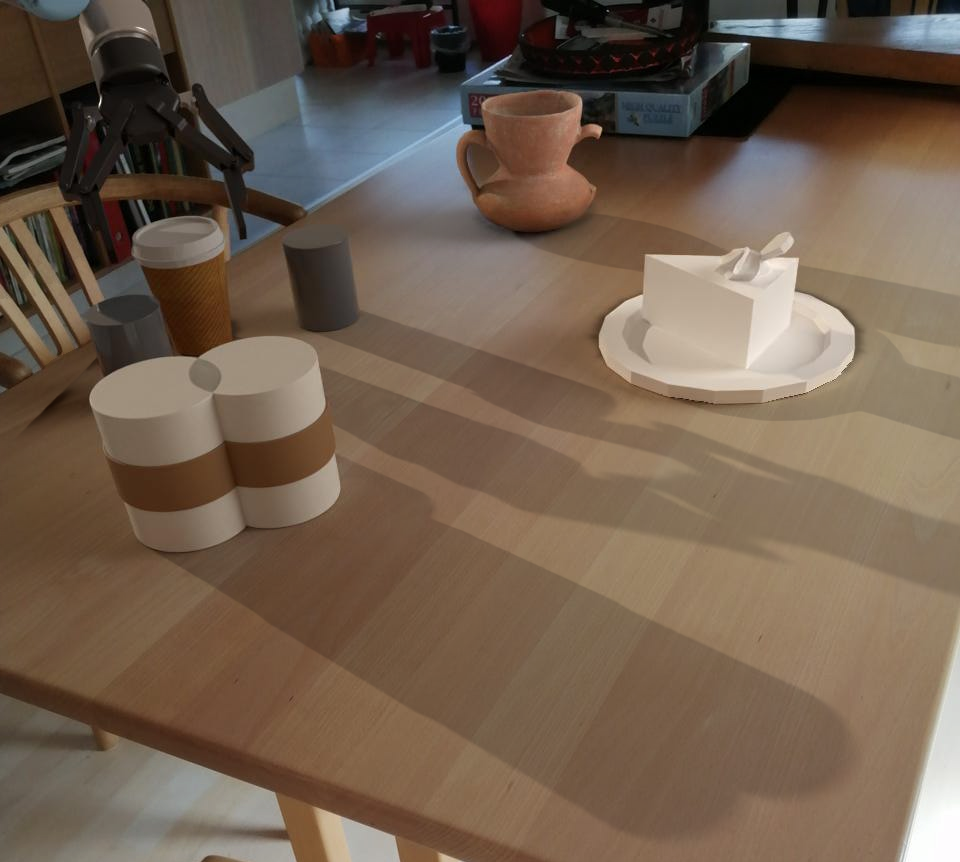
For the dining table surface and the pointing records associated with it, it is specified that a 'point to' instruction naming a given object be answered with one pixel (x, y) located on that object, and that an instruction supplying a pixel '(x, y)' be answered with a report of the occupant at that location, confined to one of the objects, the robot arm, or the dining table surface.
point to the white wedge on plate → (726, 329)
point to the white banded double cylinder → (219, 441)
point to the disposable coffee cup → (187, 280)
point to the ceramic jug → (530, 160)
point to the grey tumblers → (314, 284)
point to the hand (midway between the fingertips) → (179, 245)
